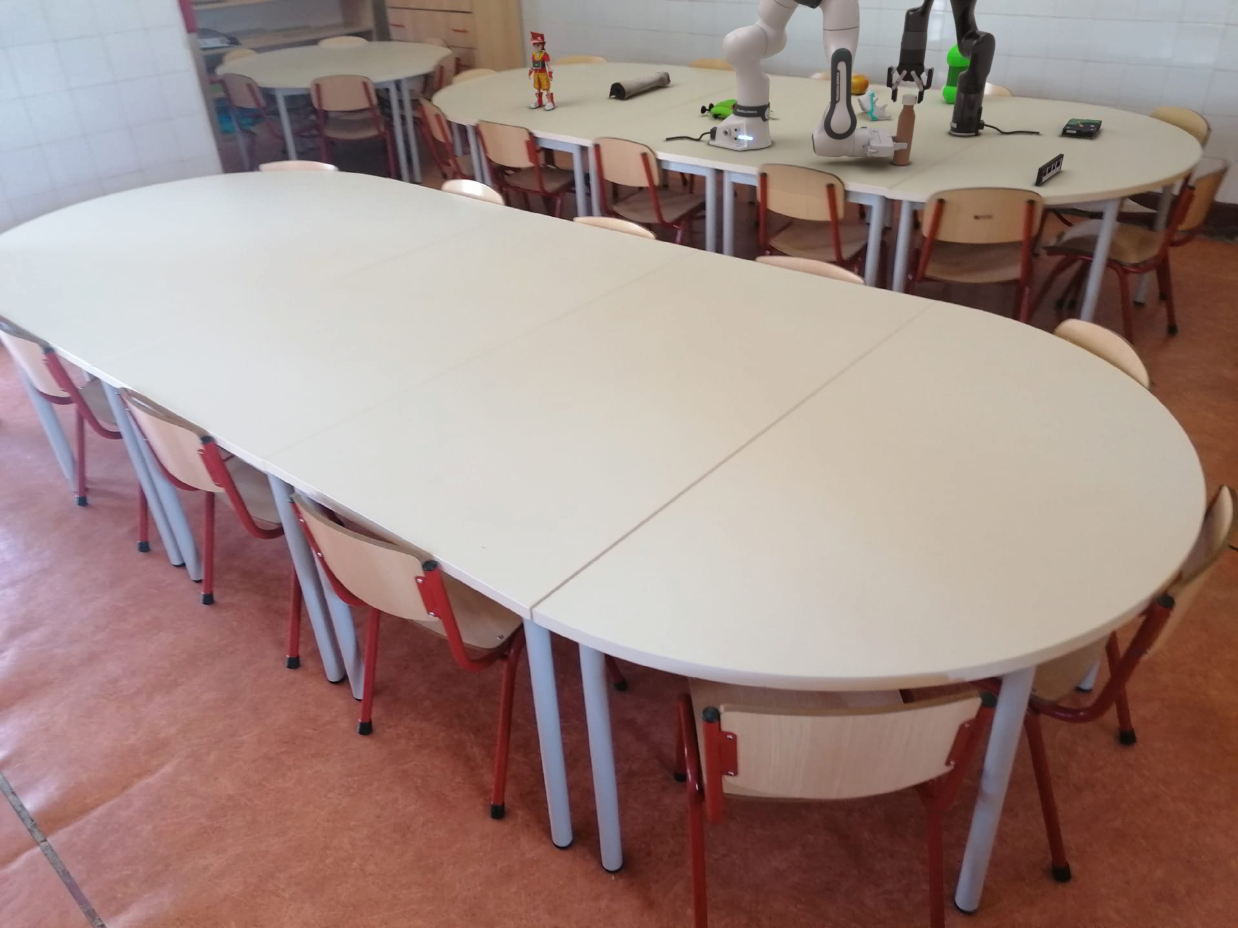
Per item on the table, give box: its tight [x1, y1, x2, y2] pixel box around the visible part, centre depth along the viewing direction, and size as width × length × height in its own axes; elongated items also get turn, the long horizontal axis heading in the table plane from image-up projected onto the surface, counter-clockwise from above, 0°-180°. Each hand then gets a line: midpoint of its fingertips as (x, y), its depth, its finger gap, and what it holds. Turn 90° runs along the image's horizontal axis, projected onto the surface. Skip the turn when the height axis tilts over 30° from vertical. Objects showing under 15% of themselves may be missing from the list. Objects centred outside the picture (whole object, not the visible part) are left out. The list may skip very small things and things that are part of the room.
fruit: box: [851, 74, 870, 95], centre depth 372 cm, size 8×8×8 cm
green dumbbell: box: [942, 43, 970, 104], centre depth 348 cm, size 10×10×25 cm
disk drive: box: [1061, 117, 1103, 139], centre depth 311 cm, size 10×3×15 cm
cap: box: [901, 93, 918, 106], centre depth 283 cm, size 4×4×2 cm
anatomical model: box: [857, 89, 892, 121], centre depth 341 cm, size 15×10×10 cm
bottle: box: [892, 104, 917, 166], centre depth 289 cm, size 5×5×20 cm
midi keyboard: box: [1035, 153, 1065, 186], centre depth 273 cm, size 18×1×5 cm, turn 138°
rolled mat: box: [608, 71, 672, 101], centre depth 395 cm, size 30×9×10 cm
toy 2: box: [700, 99, 777, 120], centre depth 353 cm, size 28×5×30 cm
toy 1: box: [527, 31, 556, 111], centre depth 374 cm, size 12×9×30 cm
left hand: (906, 142), depth 291 cm, fingers closed on bottle, 5 cm apart
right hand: (906, 102), depth 284 cm, fingers open, 7 cm apart
